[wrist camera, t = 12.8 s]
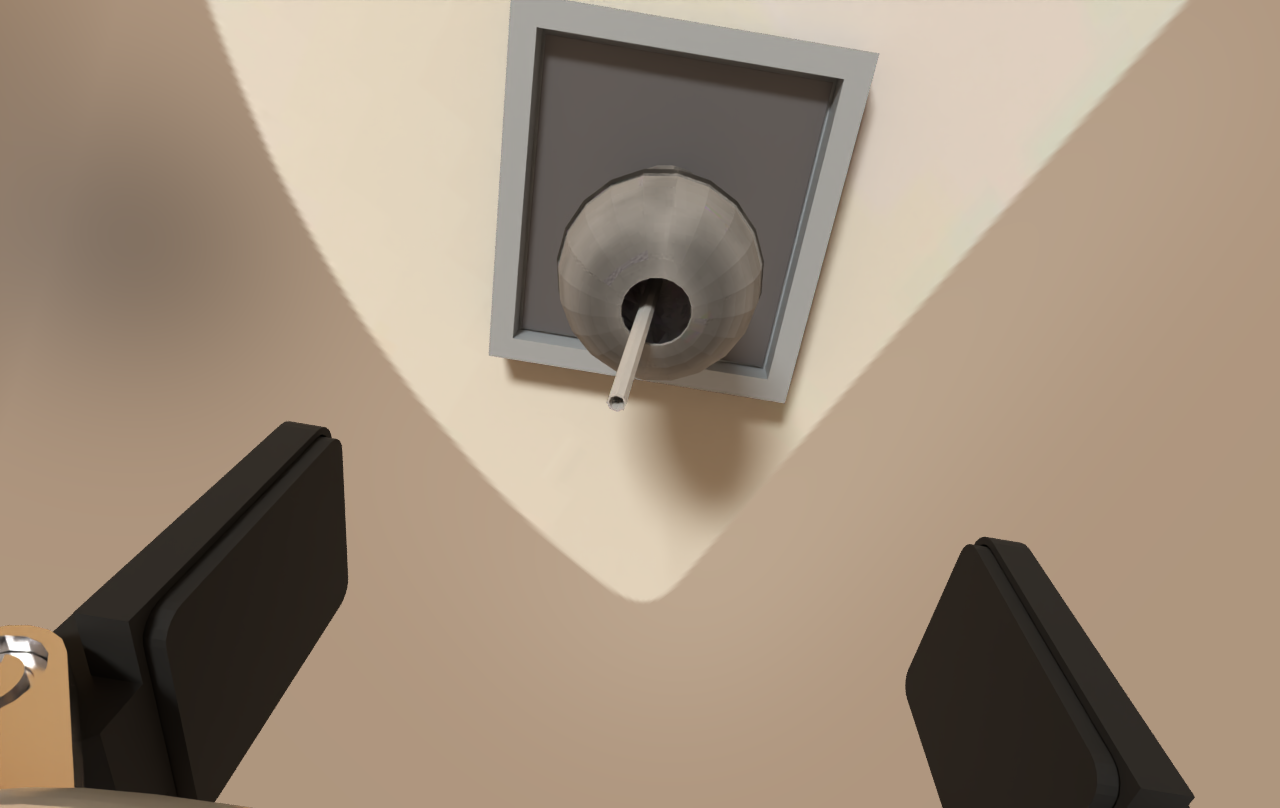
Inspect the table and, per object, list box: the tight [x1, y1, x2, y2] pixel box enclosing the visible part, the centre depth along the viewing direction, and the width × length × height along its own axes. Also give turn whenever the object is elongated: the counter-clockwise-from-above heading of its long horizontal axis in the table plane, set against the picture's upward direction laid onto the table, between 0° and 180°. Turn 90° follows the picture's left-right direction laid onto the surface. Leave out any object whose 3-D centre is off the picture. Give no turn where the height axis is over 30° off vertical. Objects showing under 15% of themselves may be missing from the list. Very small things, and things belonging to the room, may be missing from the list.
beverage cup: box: [557, 165, 764, 411], centre depth 26 cm, size 7×7×20 cm
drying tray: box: [489, 0, 879, 403], centre depth 35 cm, size 16×17×2 cm
